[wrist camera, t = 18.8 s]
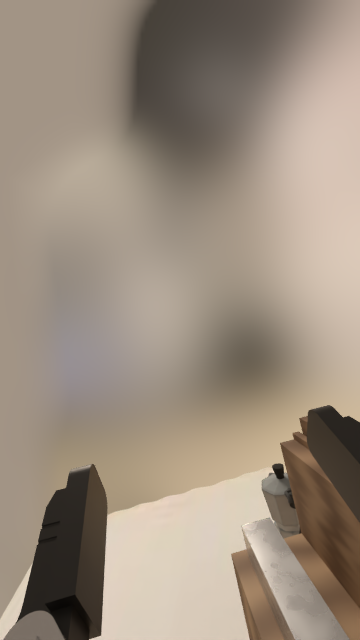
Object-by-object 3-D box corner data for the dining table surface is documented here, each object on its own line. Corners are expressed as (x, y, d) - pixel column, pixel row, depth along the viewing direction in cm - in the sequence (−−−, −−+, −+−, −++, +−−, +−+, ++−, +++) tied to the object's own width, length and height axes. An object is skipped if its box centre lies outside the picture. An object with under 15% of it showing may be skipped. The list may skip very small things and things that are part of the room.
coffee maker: (265, 541, 64) (247, 459, 66) (302, 529, 65) (283, 449, 67) (300, 599, 50) (275, 491, 51) (347, 582, 51) (321, 478, 52)
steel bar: (549, 1007, 10) (519, 898, 11) (463, 1051, 10) (434, 937, 10) (276, 548, 34) (269, 517, 35) (248, 556, 34) (241, 525, 34)
